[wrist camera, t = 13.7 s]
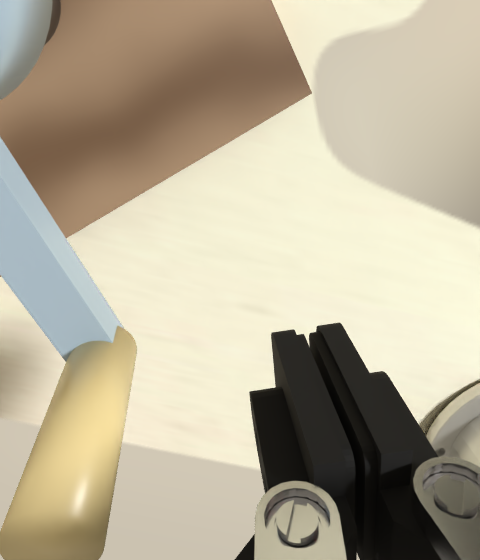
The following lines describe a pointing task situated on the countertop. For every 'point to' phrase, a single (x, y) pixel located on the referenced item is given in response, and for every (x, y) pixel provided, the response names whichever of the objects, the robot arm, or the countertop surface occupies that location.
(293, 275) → the countertop surface
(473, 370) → the countertop surface
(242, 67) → the thread post
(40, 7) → the lever handle
